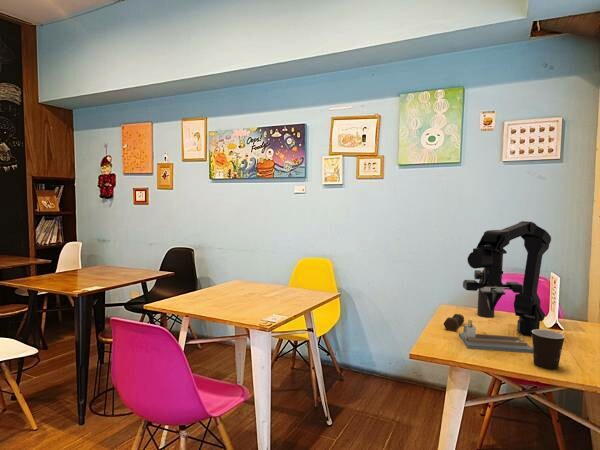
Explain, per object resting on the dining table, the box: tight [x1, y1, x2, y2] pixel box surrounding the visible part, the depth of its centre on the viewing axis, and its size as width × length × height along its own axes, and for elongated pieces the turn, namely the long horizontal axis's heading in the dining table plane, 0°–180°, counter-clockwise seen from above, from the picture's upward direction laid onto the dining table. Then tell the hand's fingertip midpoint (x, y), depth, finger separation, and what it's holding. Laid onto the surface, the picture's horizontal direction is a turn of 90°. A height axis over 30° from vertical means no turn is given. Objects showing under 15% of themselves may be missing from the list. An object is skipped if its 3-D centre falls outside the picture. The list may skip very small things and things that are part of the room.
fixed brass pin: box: [518, 336, 526, 342], centre depth 142 cm, size 2×2×2 cm
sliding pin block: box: [463, 319, 477, 340], centre depth 145 cm, size 3×4×6 cm
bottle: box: [476, 269, 496, 318], centre depth 179 cm, size 7×7×20 cm
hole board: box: [458, 332, 533, 354], centre depth 144 cm, size 21×13×2 cm, turn 81°
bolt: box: [443, 313, 465, 333], centre depth 163 cm, size 6×5×15 cm
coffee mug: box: [531, 328, 565, 371], centre depth 126 cm, size 12×9×10 cm
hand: (491, 310), depth 144 cm, fingers closed
